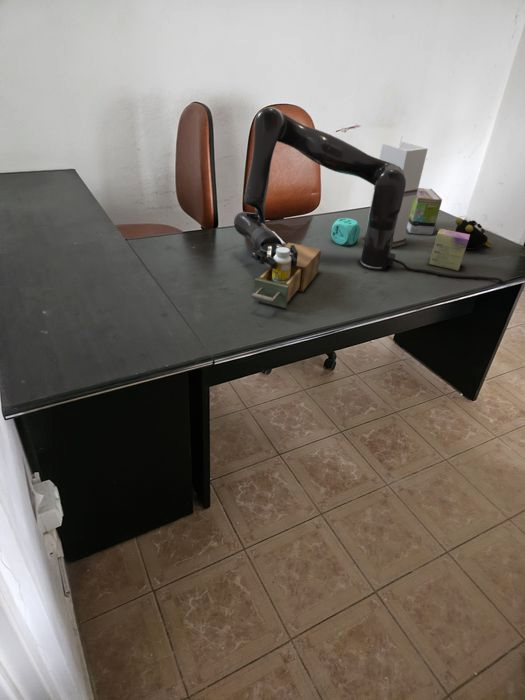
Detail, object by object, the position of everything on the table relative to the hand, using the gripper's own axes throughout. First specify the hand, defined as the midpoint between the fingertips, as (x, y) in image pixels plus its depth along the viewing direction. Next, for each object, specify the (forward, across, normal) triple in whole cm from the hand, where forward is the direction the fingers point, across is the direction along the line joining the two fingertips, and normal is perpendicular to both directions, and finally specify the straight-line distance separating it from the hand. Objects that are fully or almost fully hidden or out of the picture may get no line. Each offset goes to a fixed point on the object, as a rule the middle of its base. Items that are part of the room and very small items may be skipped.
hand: (285, 264), depth 137 cm
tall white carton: (-34, -56, -12) cm, 67 cm away
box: (-9, -66, -12) cm, 68 cm away
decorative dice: (-37, -40, -12) cm, 55 cm away
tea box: (-44, -78, -12) cm, 90 cm away
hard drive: (-43, -11, -12) cm, 46 cm away
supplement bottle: (-3, 0, -6) cm, 7 cm away
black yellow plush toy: (-21, -86, -12) cm, 90 cm away
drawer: (0, +2, -10) cm, 11 cm away
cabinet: (-12, -9, -11) cm, 19 cm away
